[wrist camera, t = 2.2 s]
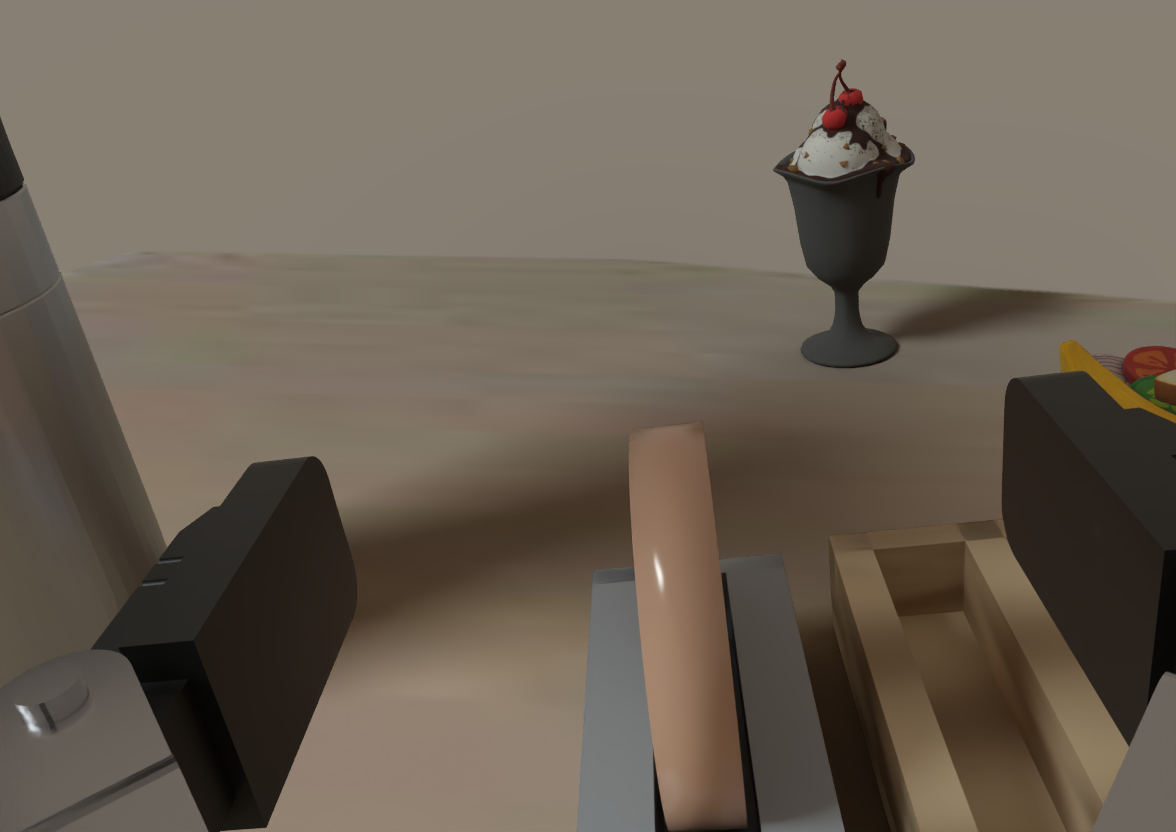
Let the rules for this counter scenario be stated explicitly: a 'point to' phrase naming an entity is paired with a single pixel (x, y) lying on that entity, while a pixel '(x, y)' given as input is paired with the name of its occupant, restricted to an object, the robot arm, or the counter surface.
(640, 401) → the counter surface
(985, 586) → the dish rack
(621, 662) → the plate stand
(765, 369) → the counter surface
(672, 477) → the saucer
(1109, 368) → the toy sandwich meal
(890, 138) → the sundae
